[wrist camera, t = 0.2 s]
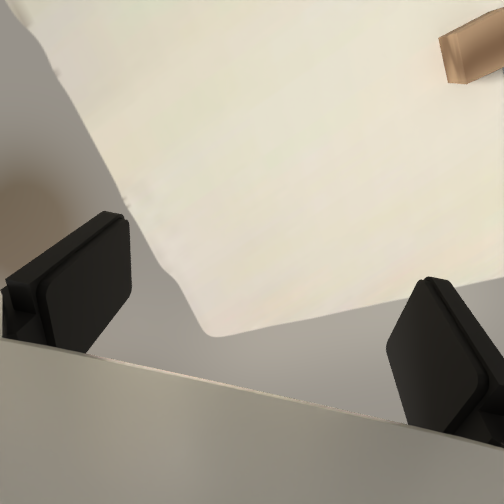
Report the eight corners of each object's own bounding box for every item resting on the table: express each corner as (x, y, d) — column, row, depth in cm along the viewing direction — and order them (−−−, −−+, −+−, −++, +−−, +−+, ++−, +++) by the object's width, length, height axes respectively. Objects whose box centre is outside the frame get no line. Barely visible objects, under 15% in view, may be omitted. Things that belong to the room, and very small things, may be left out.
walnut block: (438, 38, 36) (456, 33, 32) (487, 12, 35) (514, 3, 30) (447, 82, 38) (466, 84, 34) (495, 60, 37) (521, 58, 32)
